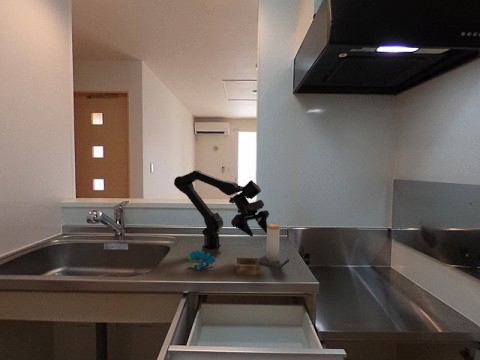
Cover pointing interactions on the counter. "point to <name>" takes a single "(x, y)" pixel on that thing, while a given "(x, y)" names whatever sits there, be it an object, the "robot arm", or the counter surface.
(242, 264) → the socket block
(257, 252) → the counter surface
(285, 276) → the counter surface
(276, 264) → the mat
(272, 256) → the plug
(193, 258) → the blue lumpy piece
